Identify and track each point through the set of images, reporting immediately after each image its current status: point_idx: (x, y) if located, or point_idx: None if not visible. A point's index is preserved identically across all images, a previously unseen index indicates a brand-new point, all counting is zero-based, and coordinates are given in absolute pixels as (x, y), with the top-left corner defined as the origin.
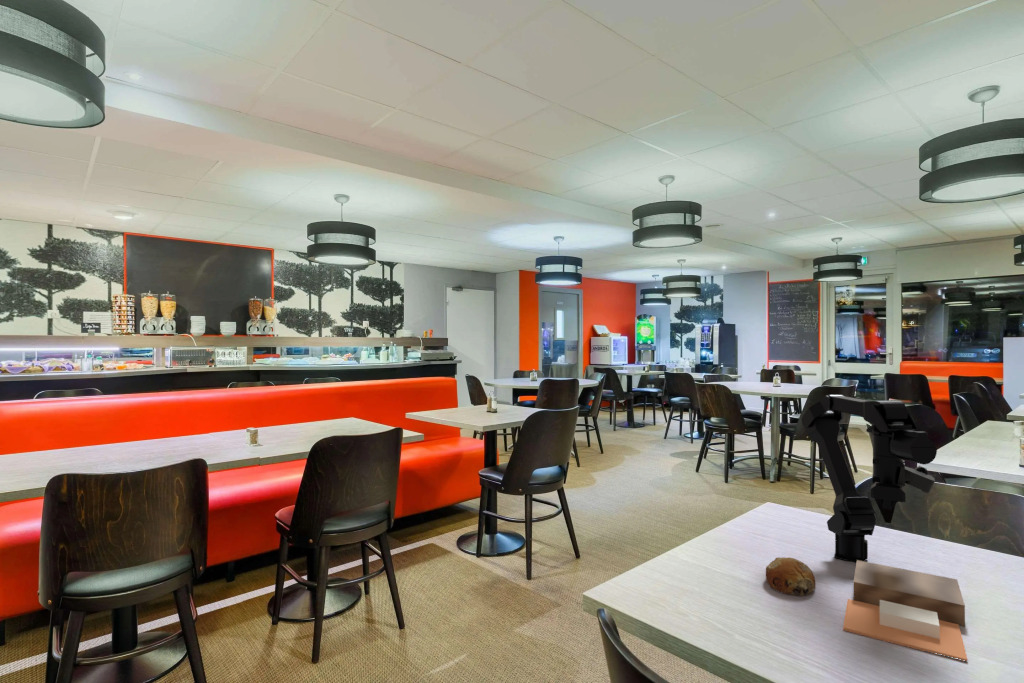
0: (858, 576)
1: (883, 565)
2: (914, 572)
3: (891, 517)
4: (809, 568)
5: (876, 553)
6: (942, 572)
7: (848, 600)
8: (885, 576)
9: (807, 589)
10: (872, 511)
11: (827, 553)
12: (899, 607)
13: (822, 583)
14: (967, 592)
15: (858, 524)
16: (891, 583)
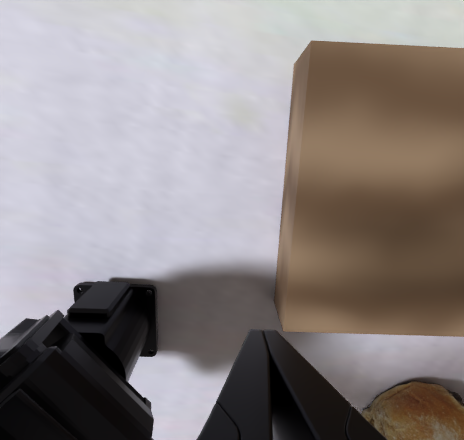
0: (431, 326)
1: (292, 262)
2: (312, 176)
3: (300, 360)
4: (441, 434)
5: (26, 254)
6: (75, 78)
7: None
8: (396, 260)
9: (457, 399)
10: (18, 414)
11: None
12: None
13: (359, 366)
14: (223, 26)
15: (129, 404)
16: (451, 247)
